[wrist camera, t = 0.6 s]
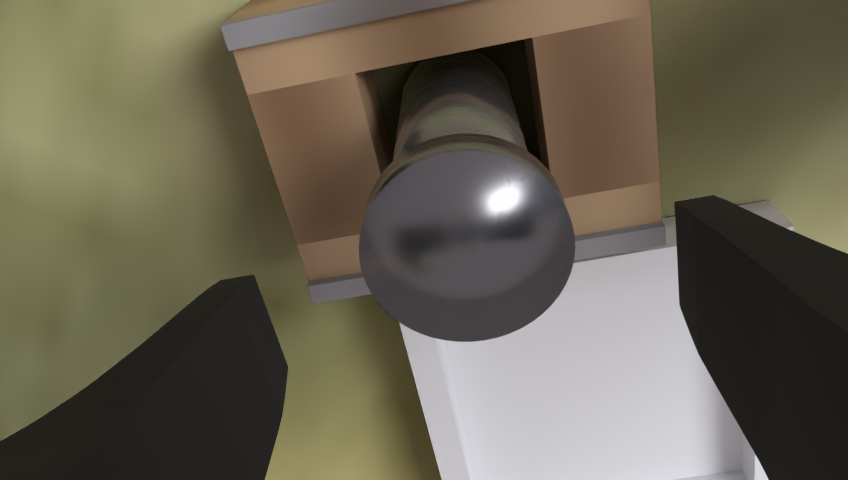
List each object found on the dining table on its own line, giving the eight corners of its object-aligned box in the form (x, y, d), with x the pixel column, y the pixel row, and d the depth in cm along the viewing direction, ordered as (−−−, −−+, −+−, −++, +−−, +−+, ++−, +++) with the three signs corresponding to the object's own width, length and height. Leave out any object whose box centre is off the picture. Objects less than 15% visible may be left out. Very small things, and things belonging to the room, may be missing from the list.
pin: (513, 20, 20) (562, 134, 12) (532, 152, 22) (586, 324, 14) (374, 49, 21) (333, 176, 13) (404, 176, 22) (385, 355, 15)
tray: (768, 200, 23) (793, 226, 21) (762, 473, 28) (782, 510, 27) (394, 263, 24) (391, 293, 22) (459, 512, 30) (460, 550, 28)
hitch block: (616, -80, 19) (649, -66, 16) (636, 194, 23) (666, 245, 20) (251, -1, 20) (219, 26, 17) (328, 248, 24) (313, 303, 21)
